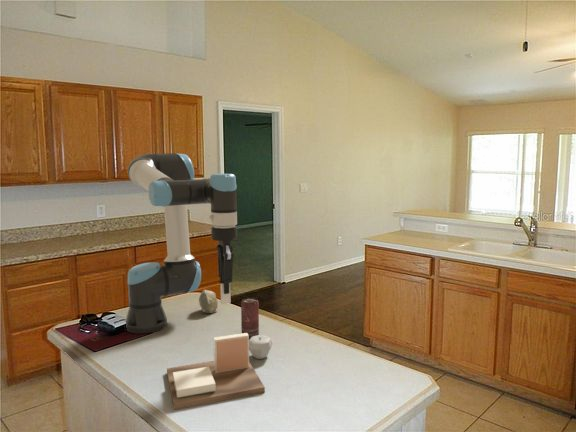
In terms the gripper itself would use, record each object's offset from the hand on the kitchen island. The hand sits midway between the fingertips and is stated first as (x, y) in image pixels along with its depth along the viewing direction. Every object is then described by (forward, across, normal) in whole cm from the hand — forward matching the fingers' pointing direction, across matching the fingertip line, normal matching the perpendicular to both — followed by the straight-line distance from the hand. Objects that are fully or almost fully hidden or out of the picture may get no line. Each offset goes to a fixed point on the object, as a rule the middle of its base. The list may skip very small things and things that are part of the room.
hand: (225, 302), depth 133 cm
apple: (+20, -1, +11) cm, 23 cm away
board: (+20, +10, -6) cm, 23 cm away
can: (+20, -16, +12) cm, 28 cm away
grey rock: (+20, -48, +3) cm, 52 cm away
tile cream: (+18, +7, 0) cm, 19 cm away
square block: (+17, +8, -12) cm, 22 cm away
